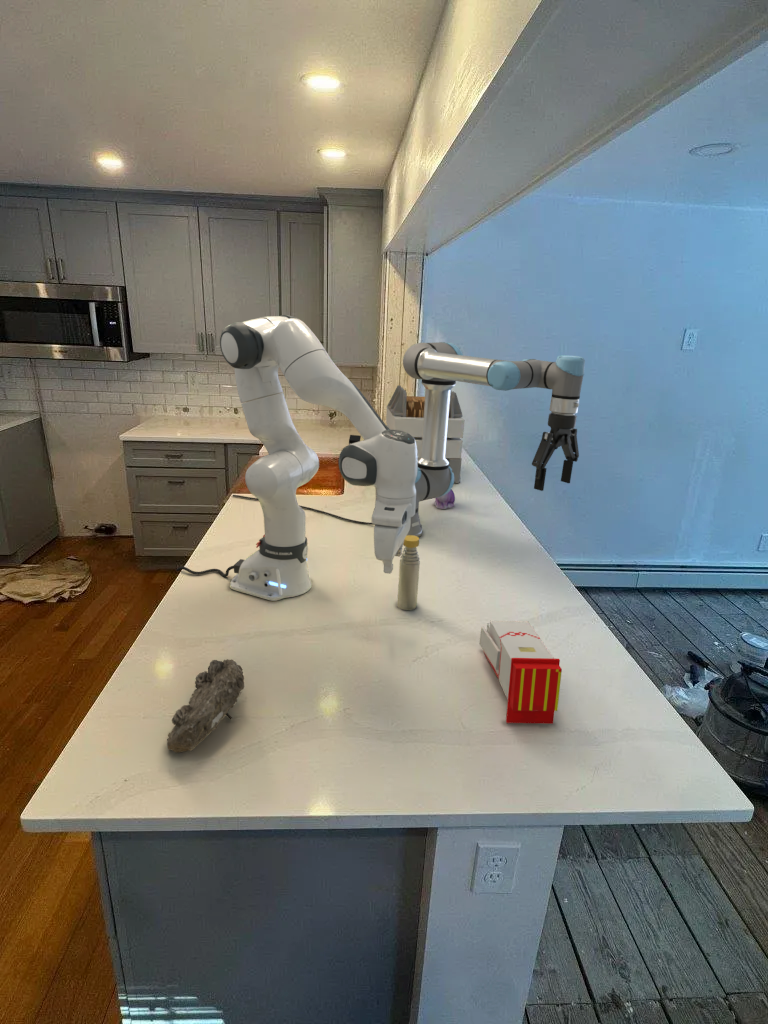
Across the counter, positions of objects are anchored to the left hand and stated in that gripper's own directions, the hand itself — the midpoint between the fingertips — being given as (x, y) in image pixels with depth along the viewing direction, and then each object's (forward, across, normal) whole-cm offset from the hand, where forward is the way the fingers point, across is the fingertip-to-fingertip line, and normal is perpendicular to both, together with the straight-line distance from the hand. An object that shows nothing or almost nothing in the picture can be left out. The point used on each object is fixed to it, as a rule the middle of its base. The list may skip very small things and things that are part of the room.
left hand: (393, 563), depth 128 cm
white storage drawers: (+20, -148, -20) cm, 151 cm away
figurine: (+20, -104, -2) cm, 105 cm away
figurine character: (+19, -179, -62) cm, 190 cm away
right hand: (-7, -52, +36) cm, 63 cm away
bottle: (+20, -19, 0) cm, 28 cm away
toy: (+21, +7, +29) cm, 36 cm away
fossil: (+20, +36, -26) cm, 49 cm away
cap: (+1, -18, 0) cm, 19 cm away
